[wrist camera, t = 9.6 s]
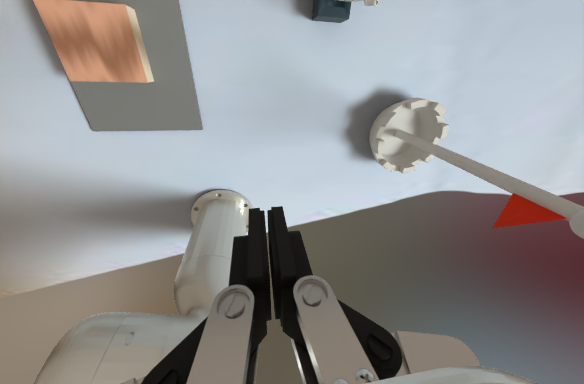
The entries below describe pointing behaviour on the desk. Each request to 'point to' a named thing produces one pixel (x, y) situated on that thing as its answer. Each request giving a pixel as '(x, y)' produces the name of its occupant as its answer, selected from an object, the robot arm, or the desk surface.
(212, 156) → the desk surface
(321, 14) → the watch
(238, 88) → the desk surface
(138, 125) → the mat
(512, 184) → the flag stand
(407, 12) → the desk surface
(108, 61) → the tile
